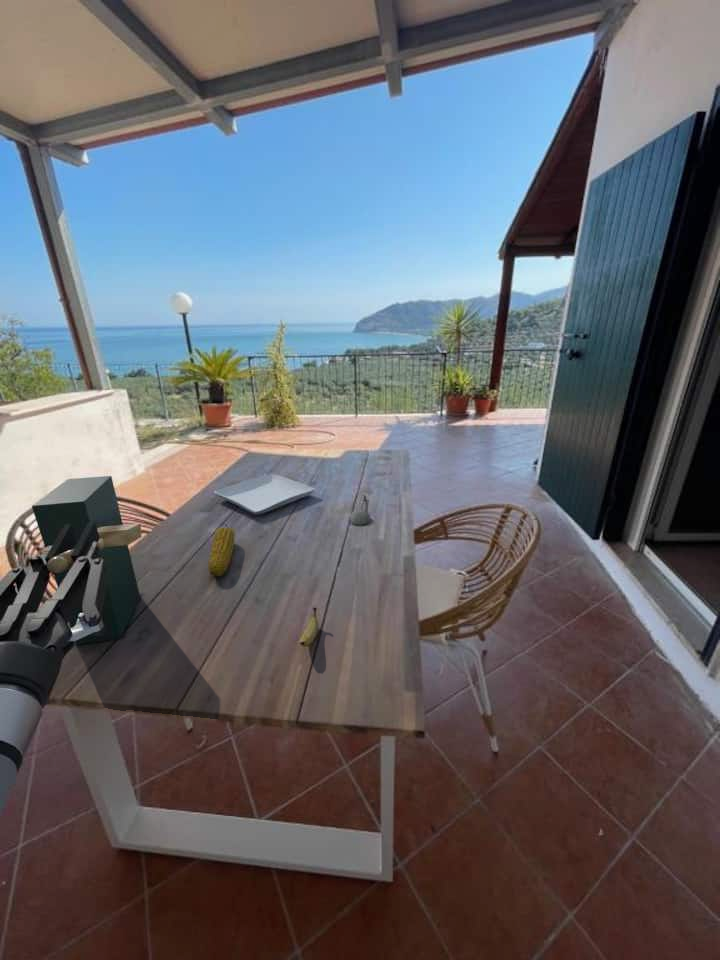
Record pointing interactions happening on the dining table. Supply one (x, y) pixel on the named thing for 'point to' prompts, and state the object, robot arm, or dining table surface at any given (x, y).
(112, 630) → the stand
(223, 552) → the food
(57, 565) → the wooden mallet
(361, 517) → the soupspoon
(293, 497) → the square plate
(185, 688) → the dining table surface
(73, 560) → the robot arm
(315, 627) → the banana
